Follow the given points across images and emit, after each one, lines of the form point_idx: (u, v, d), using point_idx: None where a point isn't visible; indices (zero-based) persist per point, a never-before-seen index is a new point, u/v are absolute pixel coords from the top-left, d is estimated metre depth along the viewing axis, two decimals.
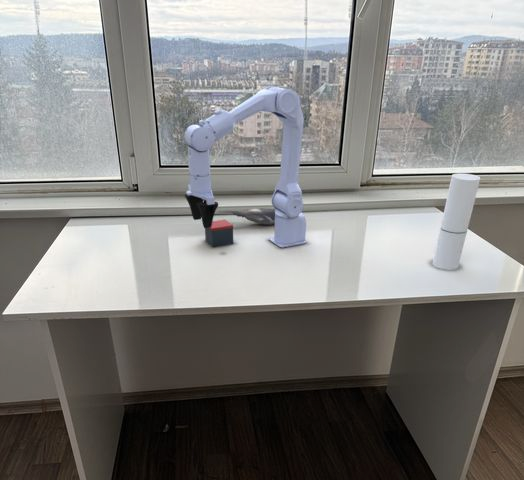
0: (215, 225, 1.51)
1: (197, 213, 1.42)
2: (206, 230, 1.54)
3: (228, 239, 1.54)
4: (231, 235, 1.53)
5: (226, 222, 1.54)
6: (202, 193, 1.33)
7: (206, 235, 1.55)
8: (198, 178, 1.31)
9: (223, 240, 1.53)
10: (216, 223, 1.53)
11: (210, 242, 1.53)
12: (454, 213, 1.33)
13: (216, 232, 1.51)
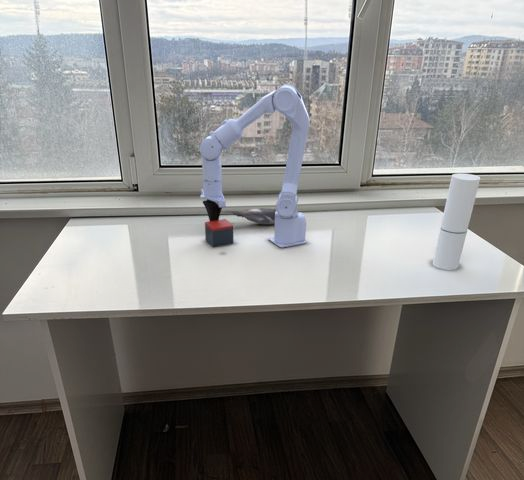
0: (215, 225, 1.51)
1: None
2: (206, 230, 1.54)
3: (228, 239, 1.54)
4: (231, 235, 1.53)
5: (226, 222, 1.54)
6: (214, 197, 1.49)
7: (206, 234, 1.55)
8: (211, 183, 1.47)
9: (223, 240, 1.53)
10: (216, 223, 1.53)
11: (210, 242, 1.53)
12: (454, 213, 1.33)
13: (216, 232, 1.50)
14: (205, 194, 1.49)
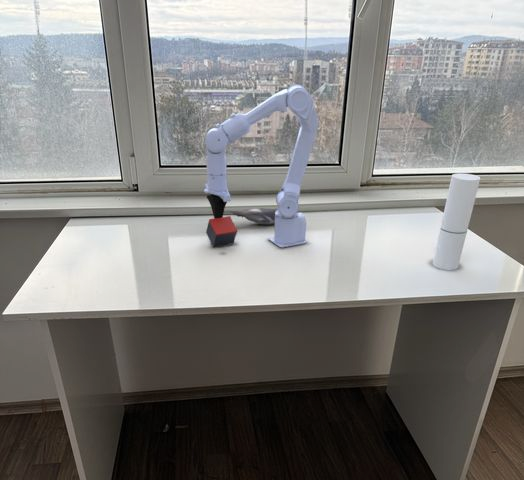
0: (219, 228, 1.49)
1: None
2: (209, 227, 1.51)
3: (229, 241, 1.53)
4: (233, 238, 1.53)
5: (231, 223, 1.51)
6: (219, 191, 1.45)
7: (208, 230, 1.52)
8: (215, 177, 1.43)
9: (224, 242, 1.53)
10: (221, 223, 1.50)
11: (211, 240, 1.52)
12: (454, 213, 1.33)
13: (219, 236, 1.49)
14: (209, 188, 1.45)
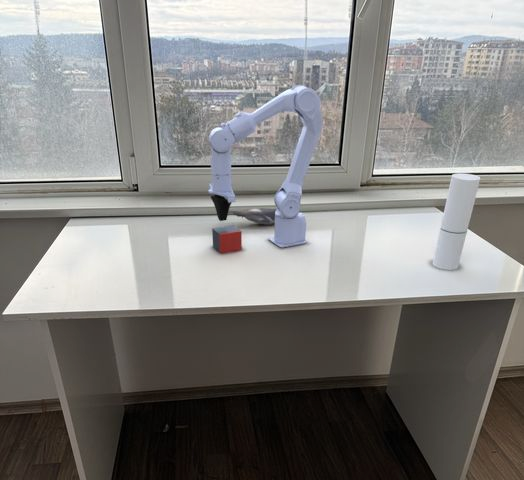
0: (226, 246, 1.48)
1: None
2: (217, 236, 1.47)
3: None
4: None
5: (239, 240, 1.49)
6: (223, 191, 1.42)
7: (215, 234, 1.48)
8: (220, 177, 1.40)
9: None
10: (229, 240, 1.47)
11: (213, 242, 1.51)
12: (454, 213, 1.33)
13: None
14: (213, 189, 1.43)
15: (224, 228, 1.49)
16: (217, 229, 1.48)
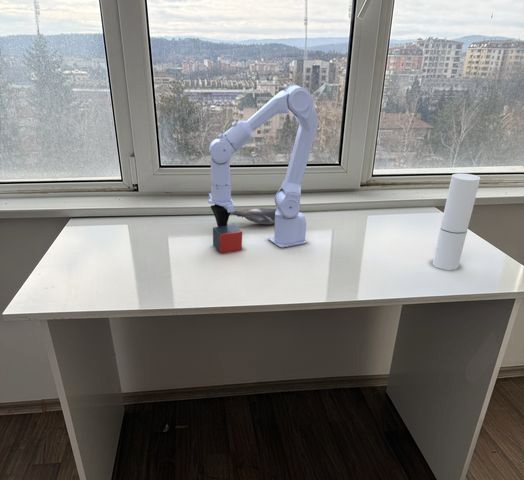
0: (226, 246, 1.48)
1: None
2: (217, 236, 1.47)
3: None
4: None
5: (239, 241, 1.49)
6: (223, 201, 1.44)
7: (215, 233, 1.48)
8: (219, 188, 1.42)
9: None
10: (230, 240, 1.47)
11: (214, 241, 1.50)
12: (454, 213, 1.33)
13: None
14: (213, 199, 1.45)
15: (225, 227, 1.49)
16: (218, 228, 1.48)
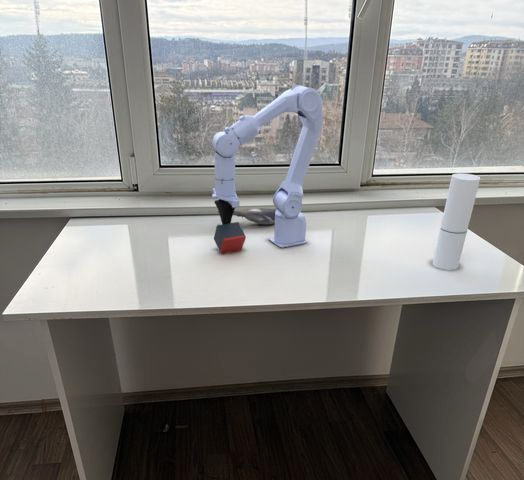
0: (228, 248, 1.47)
1: None
2: (220, 238, 1.45)
3: None
4: None
5: (241, 243, 1.48)
6: (227, 196, 1.40)
7: (218, 233, 1.45)
8: (224, 182, 1.38)
9: None
10: (232, 244, 1.46)
11: (215, 237, 1.48)
12: (454, 213, 1.33)
13: None
14: (217, 193, 1.41)
15: (229, 227, 1.46)
16: (222, 228, 1.45)
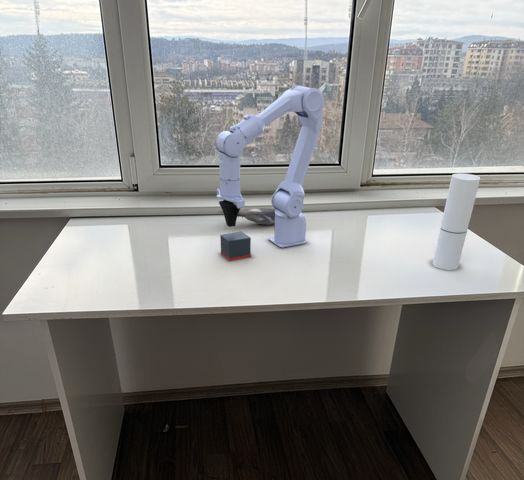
0: None
1: None
2: (227, 252, 1.43)
3: None
4: None
5: None
6: (232, 197, 1.38)
7: (227, 247, 1.42)
8: (229, 182, 1.35)
9: None
10: None
11: (222, 239, 1.44)
12: (454, 213, 1.33)
13: None
14: (222, 194, 1.38)
15: (239, 245, 1.43)
16: (232, 246, 1.42)
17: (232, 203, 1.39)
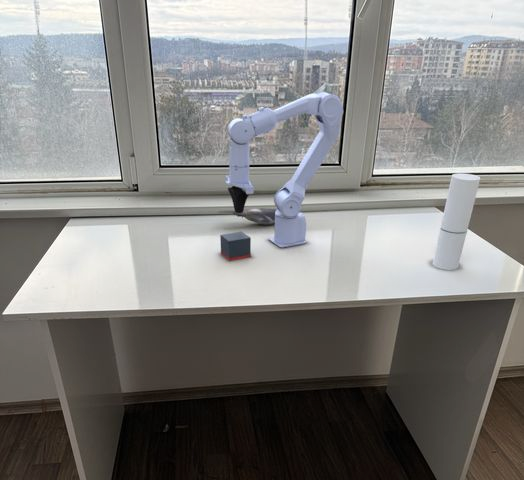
0: None
1: None
2: (227, 252, 1.43)
3: None
4: None
5: None
6: (241, 183, 1.41)
7: (227, 247, 1.42)
8: (238, 169, 1.39)
9: None
10: None
11: (222, 239, 1.44)
12: (454, 213, 1.33)
13: None
14: (231, 180, 1.42)
15: (239, 245, 1.43)
16: (232, 246, 1.42)
17: (241, 189, 1.42)
